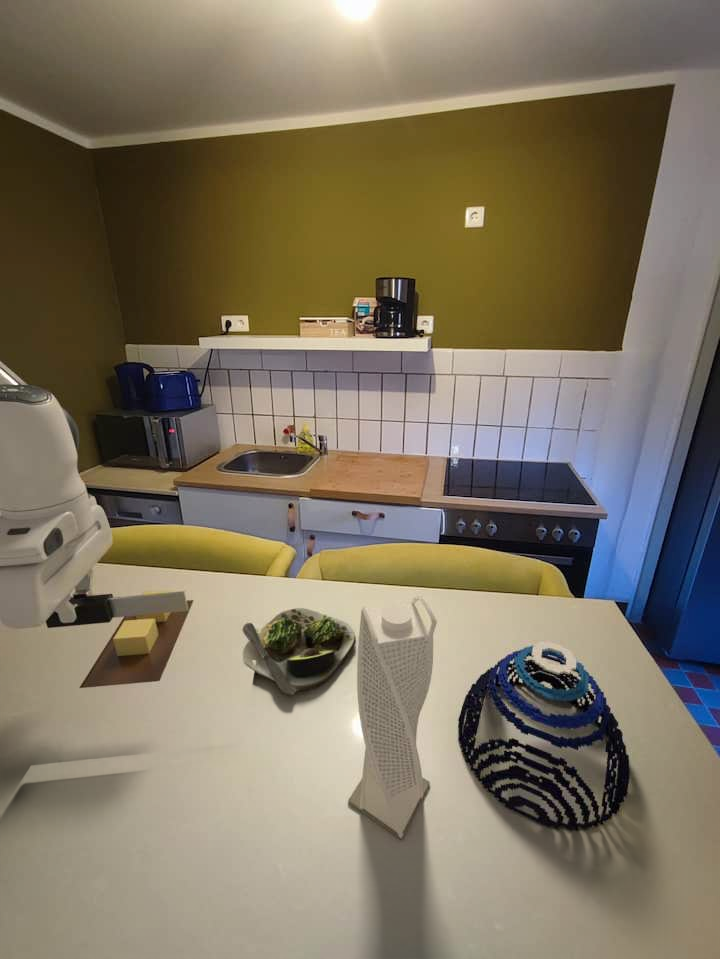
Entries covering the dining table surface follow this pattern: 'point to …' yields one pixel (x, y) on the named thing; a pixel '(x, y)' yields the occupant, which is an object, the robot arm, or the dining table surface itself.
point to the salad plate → (299, 648)
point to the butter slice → (158, 617)
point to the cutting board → (137, 656)
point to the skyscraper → (392, 711)
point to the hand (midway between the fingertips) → (78, 610)
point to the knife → (120, 607)
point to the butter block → (136, 637)
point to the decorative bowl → (545, 735)
